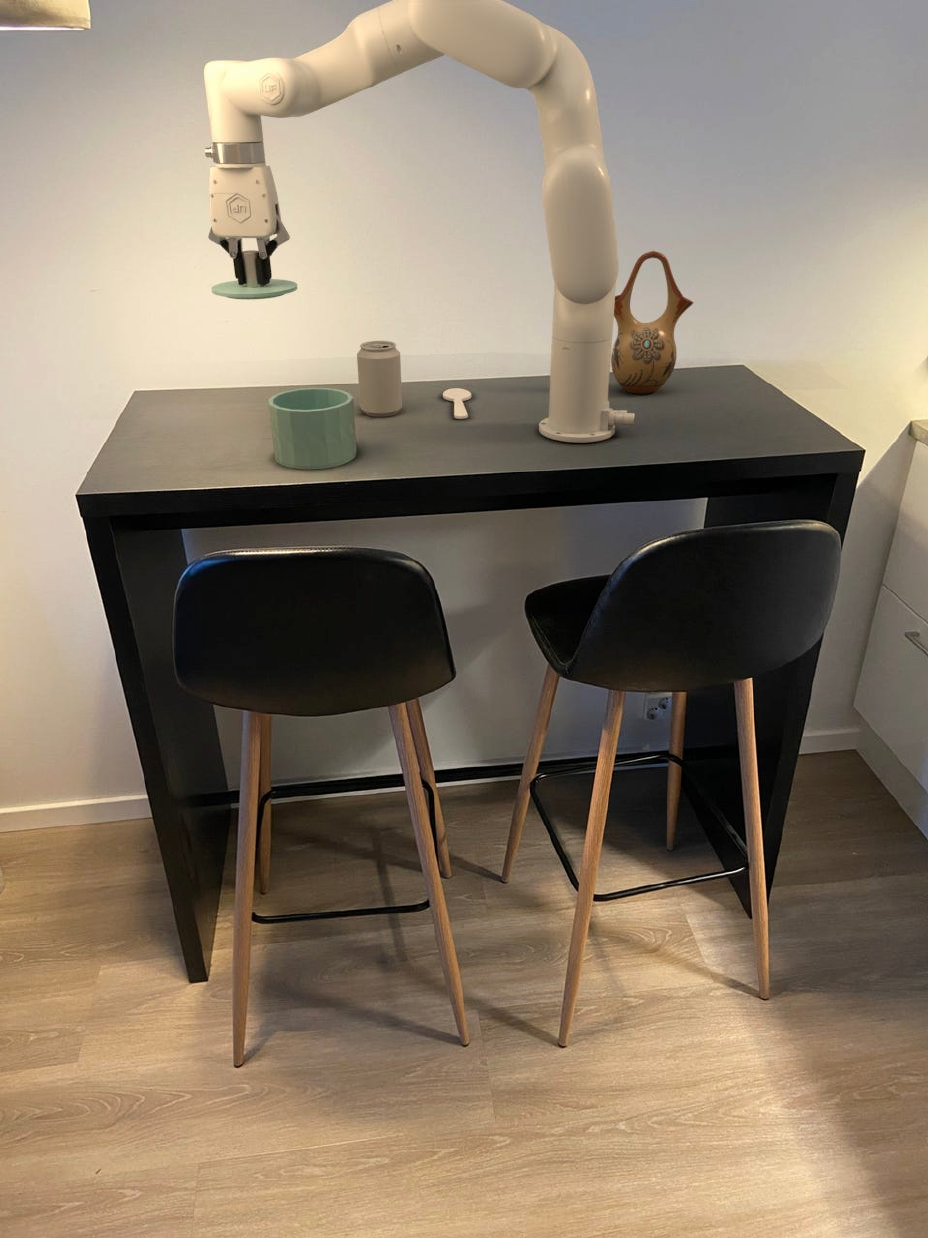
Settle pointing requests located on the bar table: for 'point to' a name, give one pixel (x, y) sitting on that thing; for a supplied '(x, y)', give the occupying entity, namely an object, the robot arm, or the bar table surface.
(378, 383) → the can
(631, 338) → the ceramic vessel
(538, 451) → the bar table surface
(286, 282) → the pot lid
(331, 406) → the pot
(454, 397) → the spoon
